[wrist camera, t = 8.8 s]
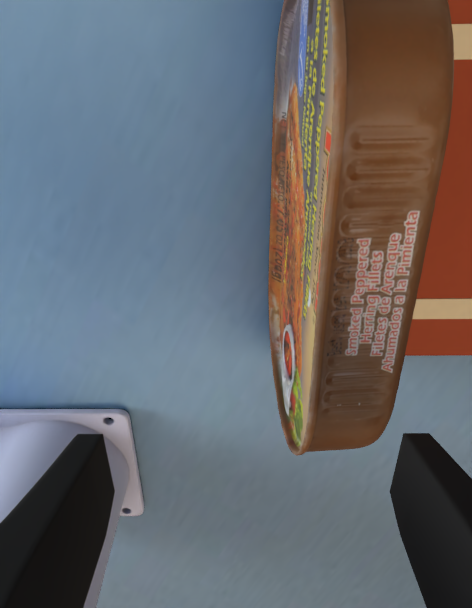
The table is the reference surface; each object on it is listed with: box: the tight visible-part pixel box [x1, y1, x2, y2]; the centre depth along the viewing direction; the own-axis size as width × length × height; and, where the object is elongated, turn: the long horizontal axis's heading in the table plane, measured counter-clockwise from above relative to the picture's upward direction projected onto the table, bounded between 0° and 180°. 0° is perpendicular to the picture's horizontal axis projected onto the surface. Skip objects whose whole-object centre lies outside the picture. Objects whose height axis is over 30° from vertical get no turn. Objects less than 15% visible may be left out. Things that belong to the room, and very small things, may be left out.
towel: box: [405, 0, 472, 355], centre depth 17 cm, size 7×15×1 cm, turn 1°
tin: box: [268, 0, 454, 455], centre depth 14 cm, size 15×3×8 cm, turn 1°
